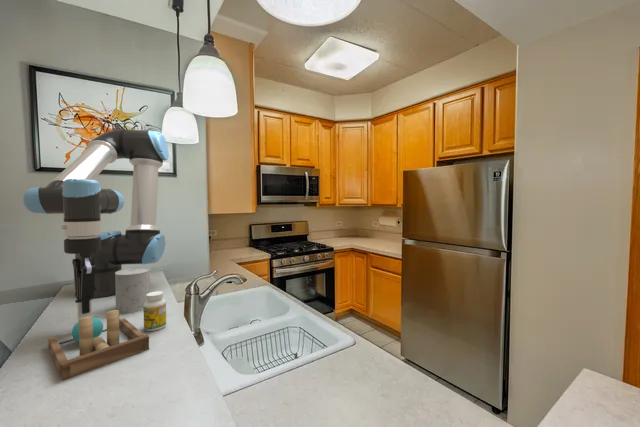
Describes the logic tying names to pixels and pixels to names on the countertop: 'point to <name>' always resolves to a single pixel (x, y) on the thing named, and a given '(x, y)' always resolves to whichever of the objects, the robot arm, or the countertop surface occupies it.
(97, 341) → the front pin
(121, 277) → the speckled white cylinder
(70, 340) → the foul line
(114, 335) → the pin
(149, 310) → the supplement bottle
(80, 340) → the pin
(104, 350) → the frame
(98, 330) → the ball
